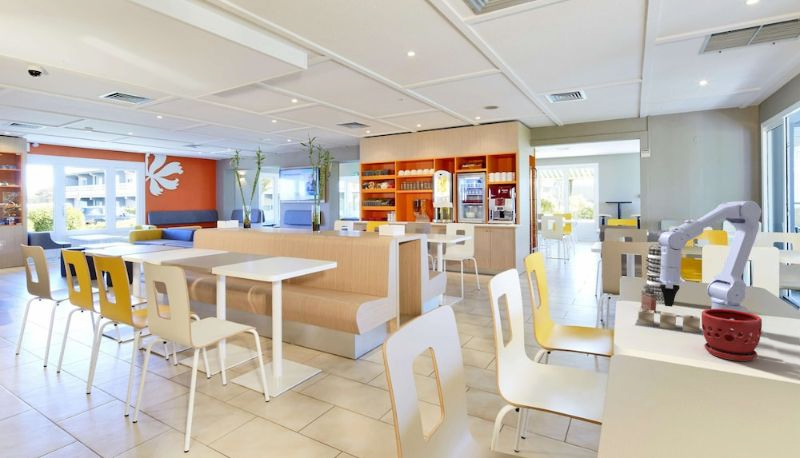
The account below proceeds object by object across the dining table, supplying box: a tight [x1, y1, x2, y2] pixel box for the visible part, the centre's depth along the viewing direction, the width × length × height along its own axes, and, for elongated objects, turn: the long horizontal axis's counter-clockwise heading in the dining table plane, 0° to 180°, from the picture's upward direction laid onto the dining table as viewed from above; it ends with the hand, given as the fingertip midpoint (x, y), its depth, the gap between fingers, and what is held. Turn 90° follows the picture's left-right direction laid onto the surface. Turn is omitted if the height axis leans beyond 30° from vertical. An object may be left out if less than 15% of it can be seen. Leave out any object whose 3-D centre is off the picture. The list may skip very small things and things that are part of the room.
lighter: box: [640, 284, 657, 314], centre depth 164 cm, size 8×3×10 cm, turn 178°
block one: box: [682, 314, 701, 333], centre depth 138 cm, size 4×4×5 cm
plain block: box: [659, 311, 677, 330], centre depth 141 cm, size 4×4×4 cm
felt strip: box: [634, 318, 703, 336], centre depth 142 cm, size 19×9×1 cm, turn 56°
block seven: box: [637, 308, 655, 326], centre depth 145 cm, size 4×4×5 cm
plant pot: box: [701, 308, 763, 362], centre depth 115 cm, size 13×13×12 cm
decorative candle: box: [645, 243, 666, 304], centre depth 183 cm, size 9×9×25 cm
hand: (668, 306), depth 141 cm, fingers closed
